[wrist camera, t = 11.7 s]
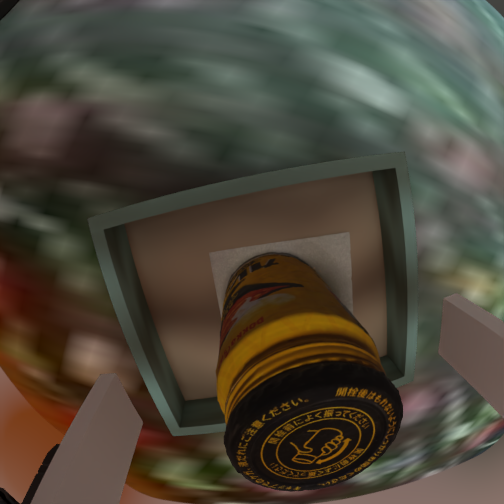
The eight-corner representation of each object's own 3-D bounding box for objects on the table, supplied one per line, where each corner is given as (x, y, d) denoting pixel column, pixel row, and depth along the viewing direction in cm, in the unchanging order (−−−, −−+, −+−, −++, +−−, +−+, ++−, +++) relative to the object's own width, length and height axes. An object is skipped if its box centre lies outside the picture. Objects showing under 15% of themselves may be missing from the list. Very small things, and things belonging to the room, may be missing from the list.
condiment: (209, 252, 17) (162, 374, 6) (348, 231, 18) (493, 301, 6) (229, 357, 19) (227, 518, 7) (352, 336, 19) (441, 463, 8)
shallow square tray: (135, 206, 21) (87, 218, 14) (351, 160, 22) (404, 151, 14) (187, 373, 25) (172, 436, 17) (371, 331, 25) (413, 380, 17)
